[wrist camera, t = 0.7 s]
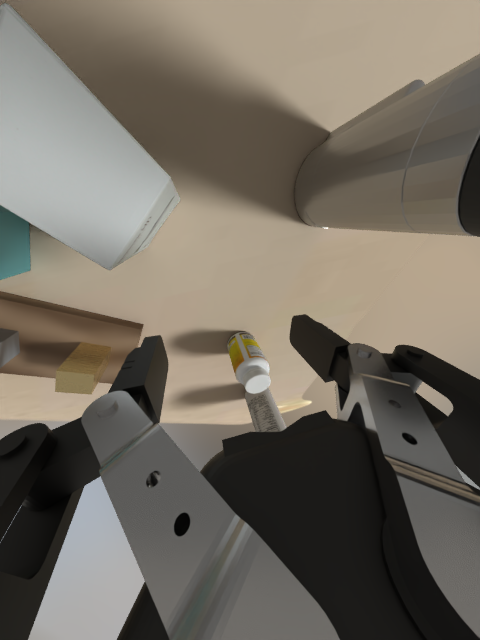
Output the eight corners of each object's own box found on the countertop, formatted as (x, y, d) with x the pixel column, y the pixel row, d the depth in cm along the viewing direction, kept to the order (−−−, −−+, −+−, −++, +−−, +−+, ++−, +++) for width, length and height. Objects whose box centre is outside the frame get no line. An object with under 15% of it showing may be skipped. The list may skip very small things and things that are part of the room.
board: (-60, 277, 19) (-176, 304, 13) (143, 324, 27) (130, 353, 21) (-41, 359, 23) (-120, 407, 17) (129, 378, 31) (114, 415, 25)
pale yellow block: (81, 341, 24) (56, 370, 20) (111, 347, 26) (94, 374, 21) (79, 360, 26) (55, 391, 21) (108, 364, 27) (91, 394, 22)
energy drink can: (251, 400, 44) (275, 473, 31) (239, 390, 40) (260, 467, 28) (271, 388, 43) (303, 457, 31) (260, 376, 40) (292, 449, 27)
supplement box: (148, 248, 22) (108, 276, 11) (81, 198, 18) (-72, 168, 8) (183, 200, 20) (174, 178, 10) (117, 133, 17) (-11, -18, 6)
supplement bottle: (230, 357, 35) (244, 402, 26) (223, 336, 32) (235, 379, 23) (256, 347, 35) (277, 389, 26) (251, 326, 32) (273, 365, 23)
